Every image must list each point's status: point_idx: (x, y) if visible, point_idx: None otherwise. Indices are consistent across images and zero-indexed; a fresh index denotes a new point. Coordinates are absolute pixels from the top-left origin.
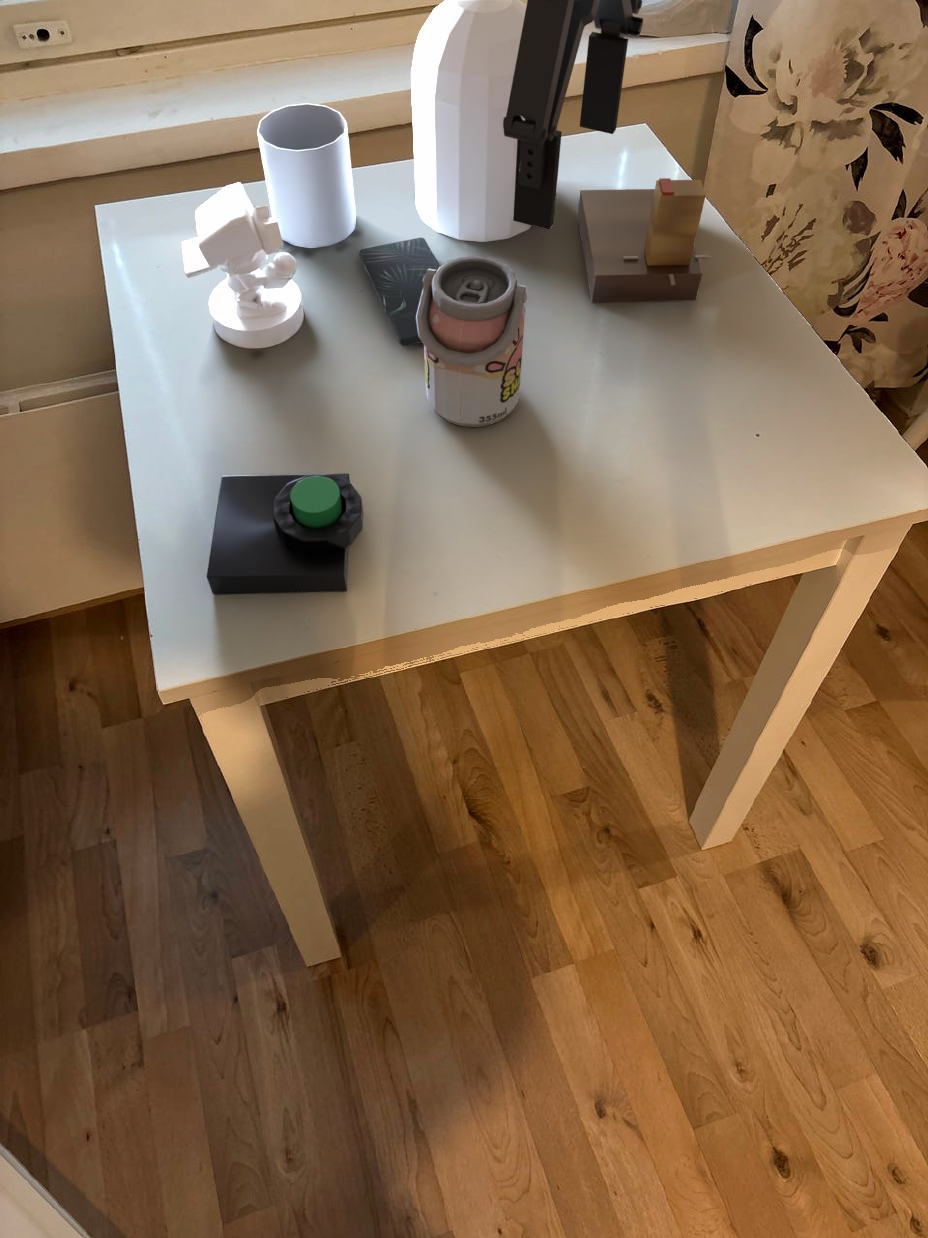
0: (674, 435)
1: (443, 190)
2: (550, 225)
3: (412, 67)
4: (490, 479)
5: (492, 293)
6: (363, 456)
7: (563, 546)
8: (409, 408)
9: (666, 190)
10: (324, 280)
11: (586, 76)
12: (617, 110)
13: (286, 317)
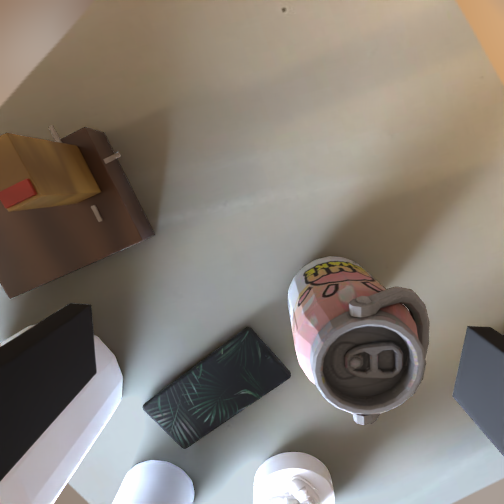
0: (313, 98)
1: (98, 425)
2: (494, 330)
3: None
4: (422, 247)
5: (362, 338)
6: None
7: (487, 159)
8: None
9: (28, 190)
10: (227, 456)
11: (17, 457)
12: (48, 324)
13: (306, 471)
